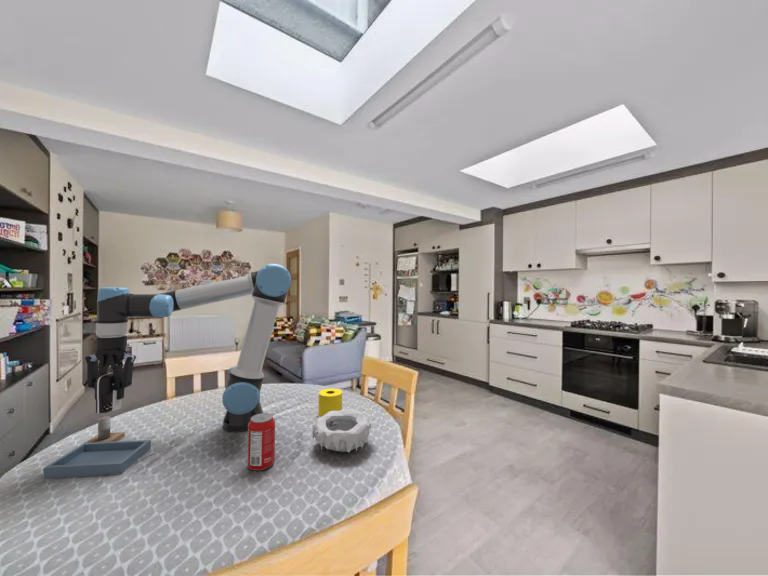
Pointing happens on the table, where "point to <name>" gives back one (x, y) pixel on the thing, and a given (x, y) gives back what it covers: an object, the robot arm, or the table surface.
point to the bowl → (342, 430)
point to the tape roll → (329, 401)
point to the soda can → (261, 441)
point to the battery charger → (104, 393)
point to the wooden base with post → (106, 432)
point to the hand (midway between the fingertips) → (109, 409)
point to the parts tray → (98, 459)
